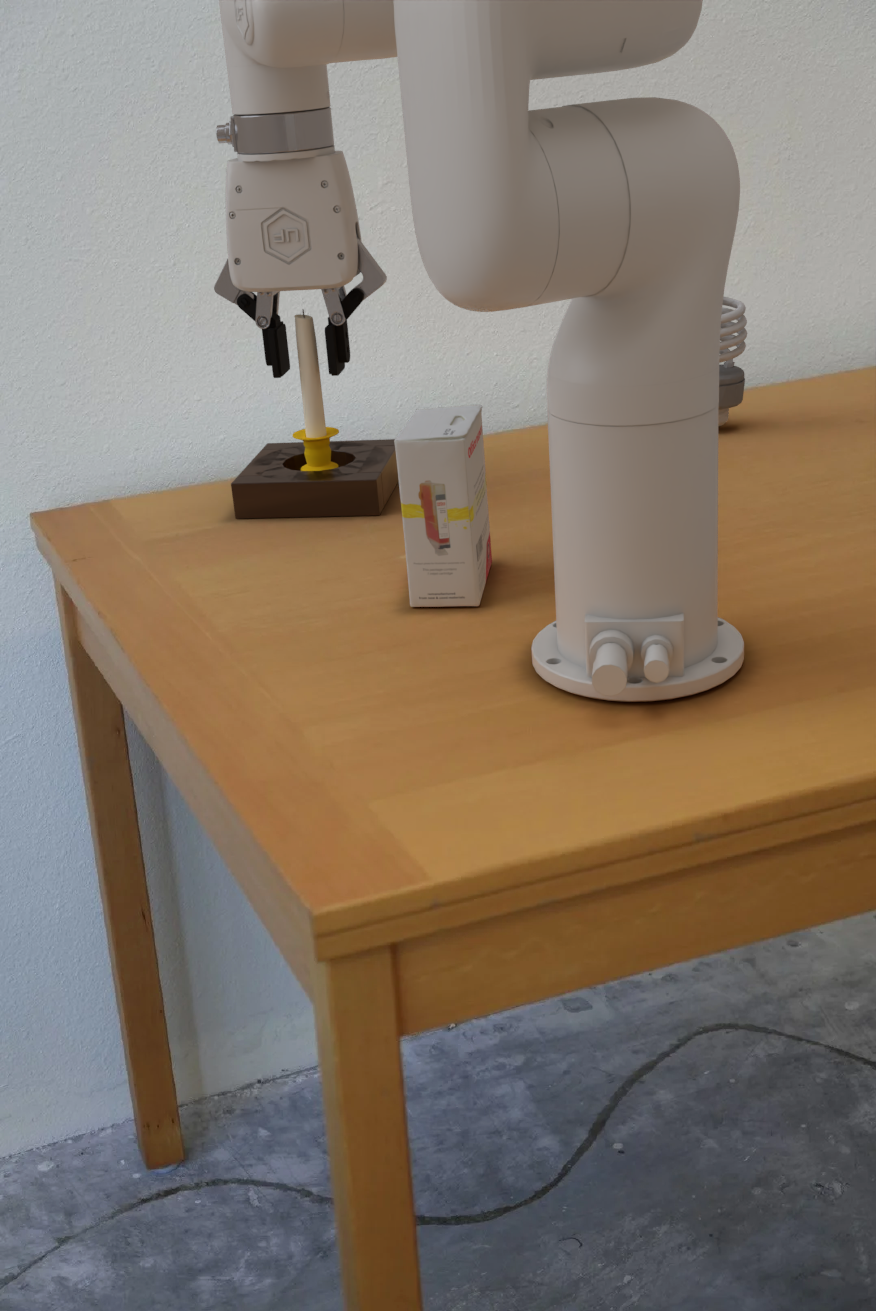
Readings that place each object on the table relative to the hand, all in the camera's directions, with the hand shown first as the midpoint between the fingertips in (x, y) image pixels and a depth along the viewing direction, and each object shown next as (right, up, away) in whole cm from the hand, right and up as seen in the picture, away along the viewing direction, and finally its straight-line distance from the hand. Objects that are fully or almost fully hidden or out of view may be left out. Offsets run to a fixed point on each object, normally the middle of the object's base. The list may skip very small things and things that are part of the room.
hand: (309, 370), depth 120 cm
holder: (+1, -10, +4) cm, 11 cm away
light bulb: (+36, -3, +14) cm, 39 cm away
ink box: (+12, -19, -18) cm, 28 cm away
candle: (+1, -10, +4) cm, 11 cm away
